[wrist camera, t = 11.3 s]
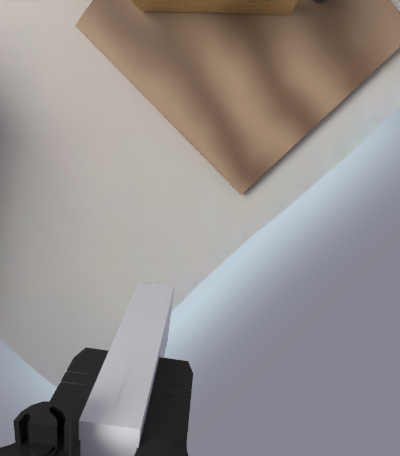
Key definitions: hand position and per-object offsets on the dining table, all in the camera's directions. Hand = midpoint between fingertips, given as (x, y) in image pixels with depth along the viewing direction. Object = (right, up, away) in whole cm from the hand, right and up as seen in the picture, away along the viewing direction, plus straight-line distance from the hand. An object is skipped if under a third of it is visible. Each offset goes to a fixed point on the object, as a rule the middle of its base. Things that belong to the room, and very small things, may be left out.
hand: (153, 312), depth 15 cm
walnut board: (+5, +21, +17) cm, 28 cm away
